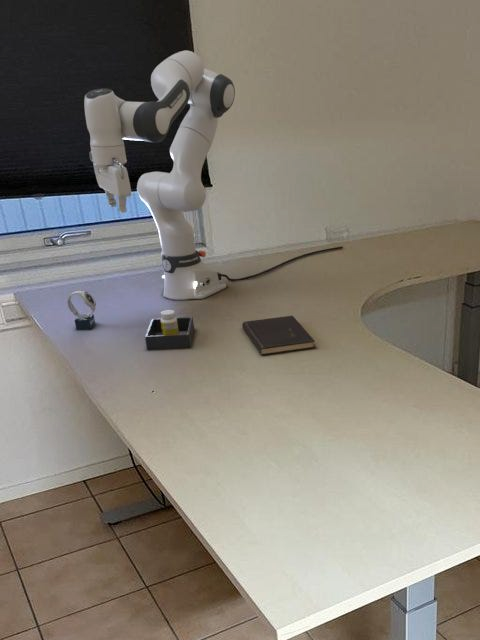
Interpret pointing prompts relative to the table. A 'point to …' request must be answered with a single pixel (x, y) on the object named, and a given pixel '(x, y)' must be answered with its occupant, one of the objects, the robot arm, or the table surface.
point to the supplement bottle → (169, 323)
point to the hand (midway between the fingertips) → (117, 209)
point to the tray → (170, 340)
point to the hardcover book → (278, 335)
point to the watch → (83, 319)
